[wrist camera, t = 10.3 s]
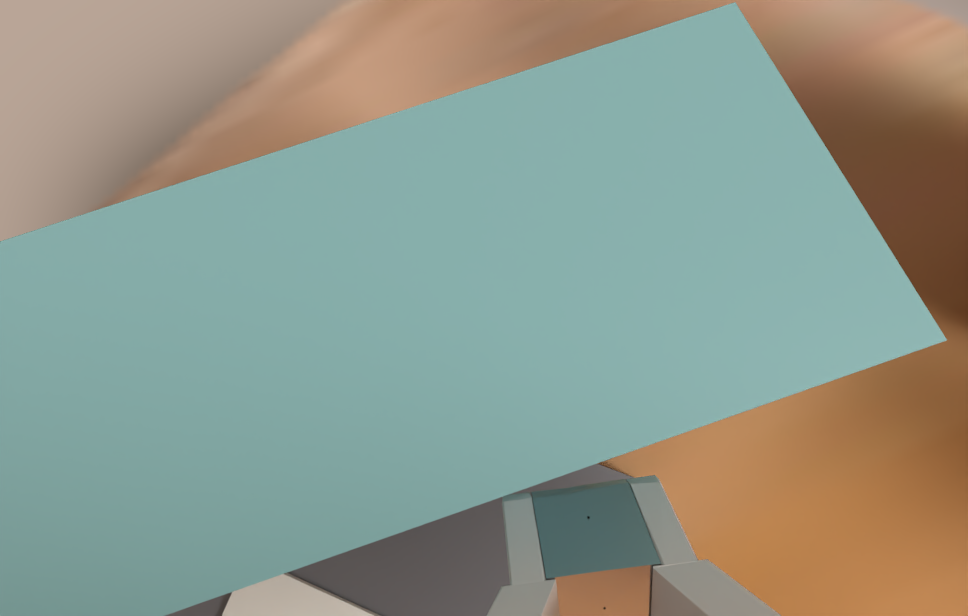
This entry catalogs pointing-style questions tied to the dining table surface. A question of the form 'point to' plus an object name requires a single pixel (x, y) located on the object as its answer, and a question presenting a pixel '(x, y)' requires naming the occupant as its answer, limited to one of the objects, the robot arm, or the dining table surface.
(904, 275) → the block
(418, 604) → the grey flat rectangular block
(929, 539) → the dining table surface
